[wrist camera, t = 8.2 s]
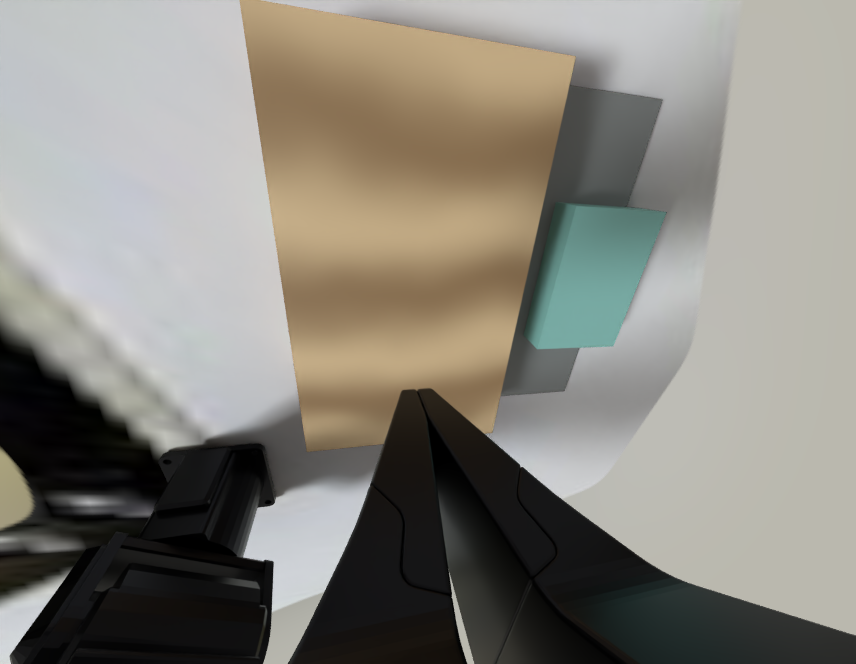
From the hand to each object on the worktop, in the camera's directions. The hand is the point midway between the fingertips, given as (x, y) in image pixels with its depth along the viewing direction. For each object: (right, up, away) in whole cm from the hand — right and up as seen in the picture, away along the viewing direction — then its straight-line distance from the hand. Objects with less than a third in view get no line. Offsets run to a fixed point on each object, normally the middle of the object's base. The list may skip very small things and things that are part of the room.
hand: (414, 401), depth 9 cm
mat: (+9, +6, +12) cm, 16 cm away
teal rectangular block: (+11, +5, +11) cm, 16 cm away
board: (-1, +6, +10) cm, 12 cm away
